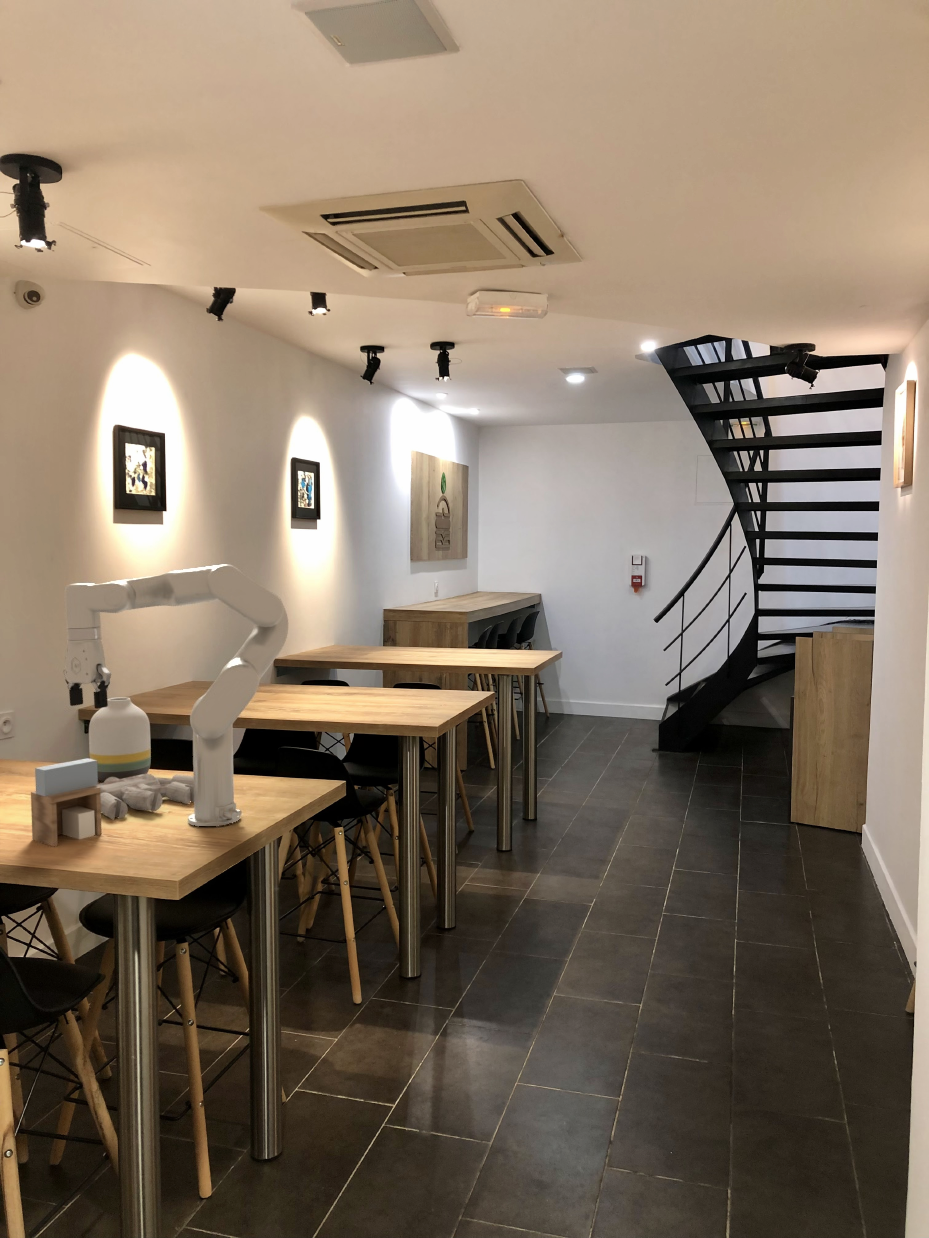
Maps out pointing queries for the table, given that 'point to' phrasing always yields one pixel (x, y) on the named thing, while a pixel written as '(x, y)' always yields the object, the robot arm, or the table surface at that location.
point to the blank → (66, 777)
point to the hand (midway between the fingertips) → (88, 706)
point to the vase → (120, 740)
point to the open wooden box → (50, 812)
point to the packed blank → (78, 822)
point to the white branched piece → (143, 793)
